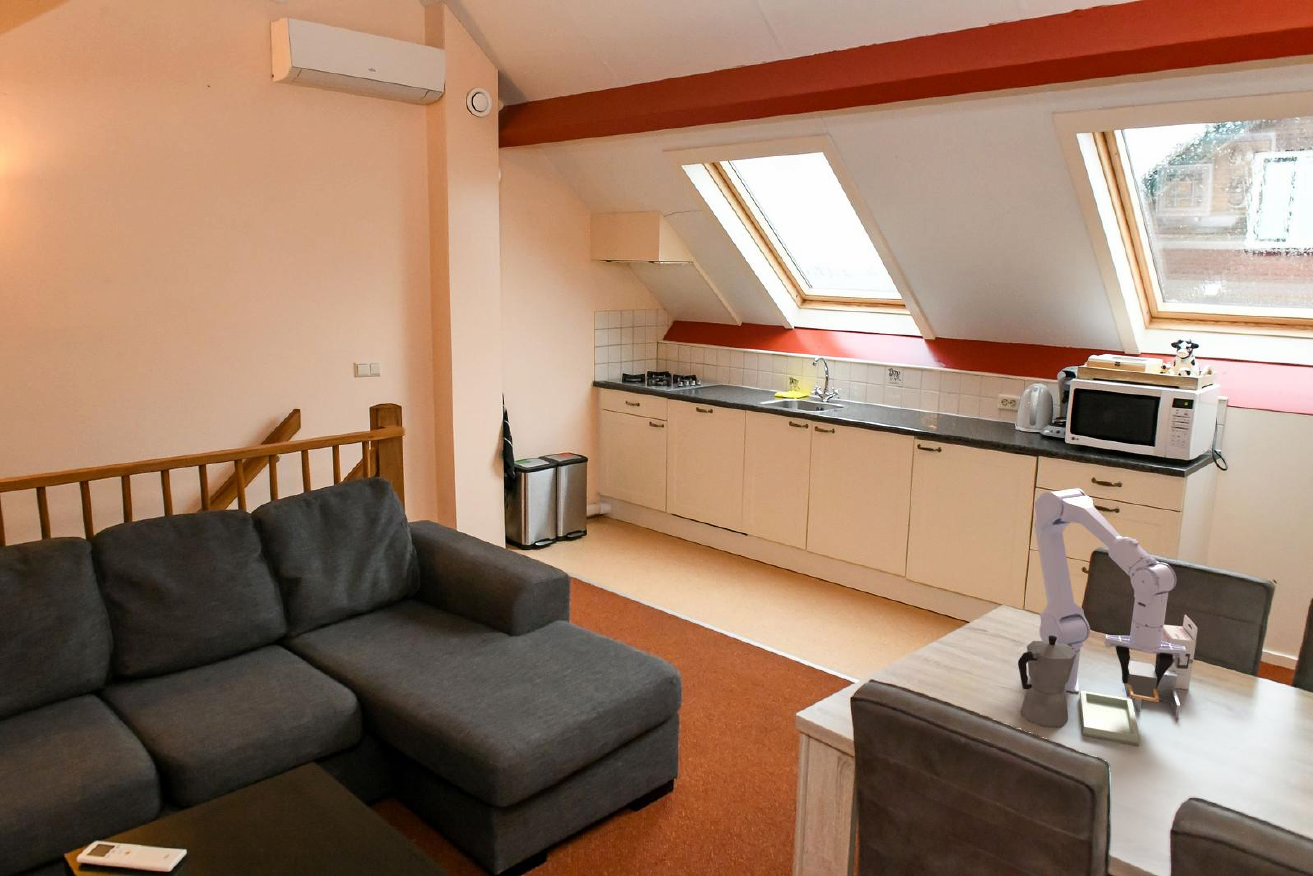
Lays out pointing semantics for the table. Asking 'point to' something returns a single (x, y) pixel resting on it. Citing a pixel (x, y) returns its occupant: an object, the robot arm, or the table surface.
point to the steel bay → (1166, 692)
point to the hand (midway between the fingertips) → (1139, 684)
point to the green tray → (1108, 718)
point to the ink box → (1187, 640)
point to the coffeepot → (1046, 681)
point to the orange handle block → (1141, 681)
